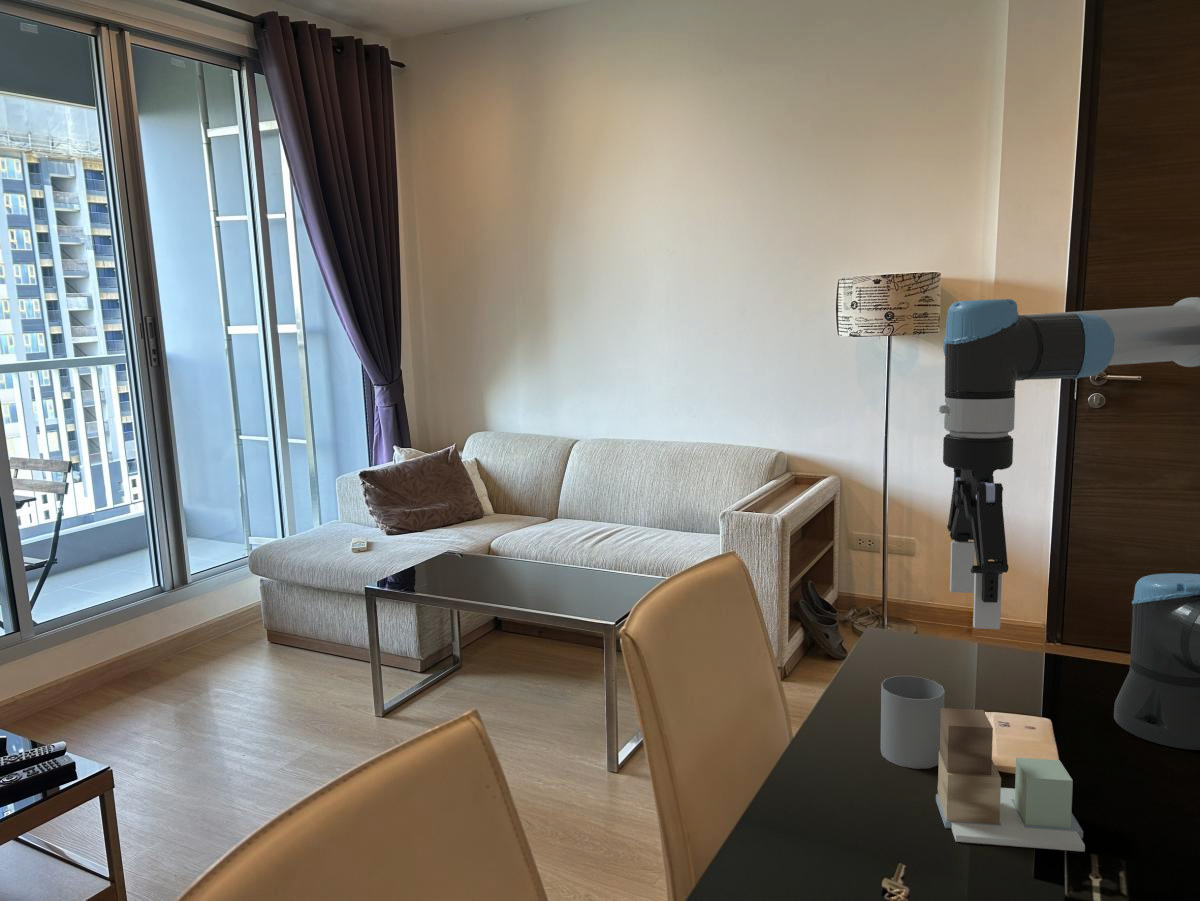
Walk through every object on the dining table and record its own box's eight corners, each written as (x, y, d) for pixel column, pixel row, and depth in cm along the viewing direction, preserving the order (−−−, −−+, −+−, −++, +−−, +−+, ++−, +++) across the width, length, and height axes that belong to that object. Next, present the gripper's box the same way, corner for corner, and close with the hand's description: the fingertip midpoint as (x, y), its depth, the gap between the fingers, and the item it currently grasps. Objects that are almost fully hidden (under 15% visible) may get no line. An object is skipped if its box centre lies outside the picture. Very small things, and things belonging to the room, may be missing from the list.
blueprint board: (1058, 797, 113) (1058, 791, 113) (1091, 852, 101) (1091, 845, 101) (932, 788, 116) (932, 782, 116) (949, 841, 104) (949, 834, 104)
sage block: (1057, 805, 109) (1059, 760, 109) (1070, 827, 105) (1072, 780, 104) (1014, 802, 110) (1016, 757, 110) (1025, 824, 106) (1027, 777, 105)
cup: (947, 770, 120) (949, 701, 119) (884, 766, 122) (885, 698, 121) (936, 742, 129) (938, 677, 127) (878, 738, 130) (878, 674, 129)
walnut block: (981, 755, 110) (983, 710, 110) (991, 775, 106) (992, 727, 105) (939, 752, 111) (940, 707, 111) (947, 772, 107) (948, 725, 106)
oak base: (987, 798, 112) (989, 753, 111) (999, 824, 106) (1001, 777, 105) (937, 795, 113) (938, 750, 112) (946, 820, 107) (947, 774, 106)
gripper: (926, 422, 116) (923, 578, 119) (966, 448, 91) (961, 644, 94) (987, 421, 114) (982, 579, 117) (1044, 448, 90) (1036, 647, 93)
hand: (973, 609), depth 106 cm, fingers open, 13 cm apart
